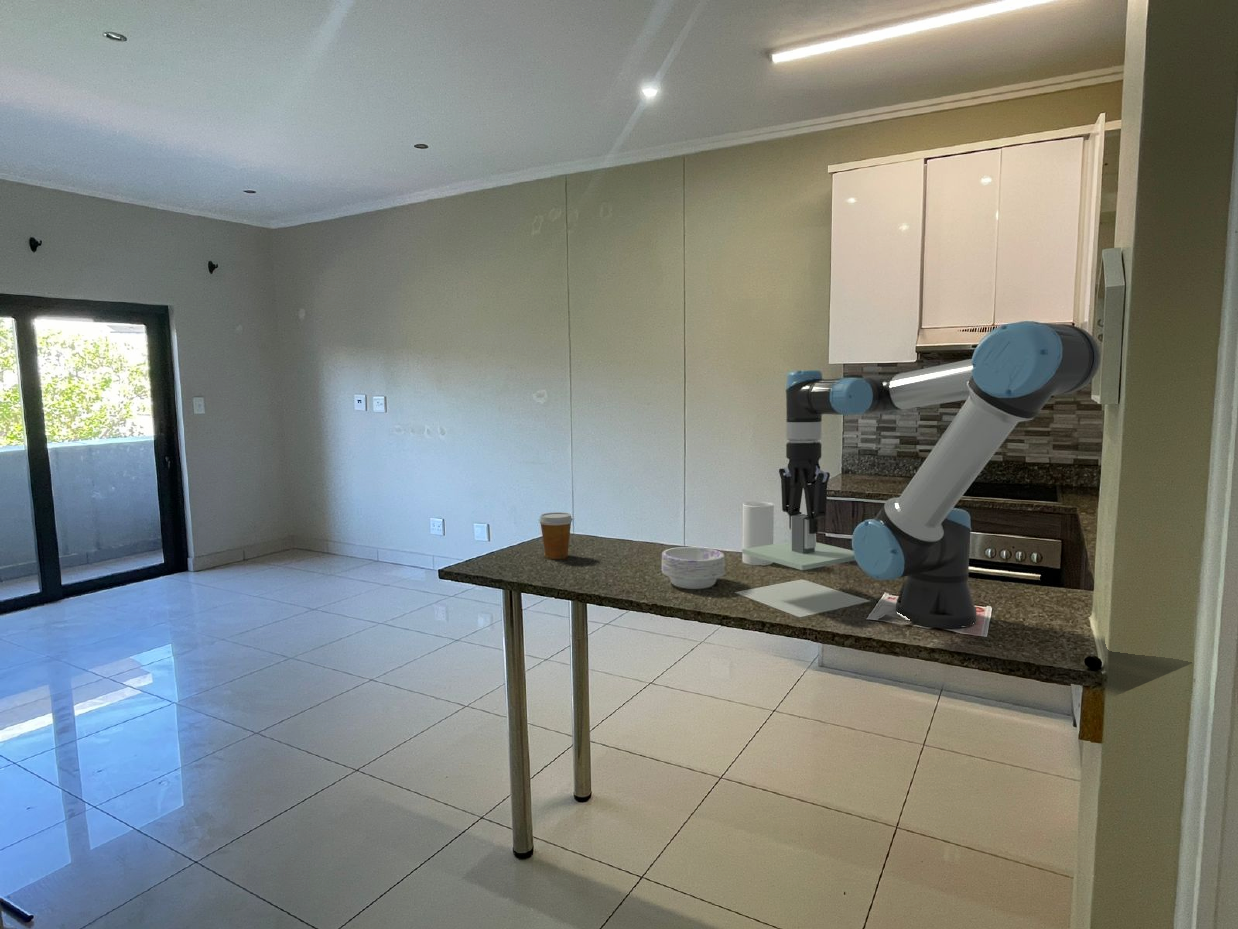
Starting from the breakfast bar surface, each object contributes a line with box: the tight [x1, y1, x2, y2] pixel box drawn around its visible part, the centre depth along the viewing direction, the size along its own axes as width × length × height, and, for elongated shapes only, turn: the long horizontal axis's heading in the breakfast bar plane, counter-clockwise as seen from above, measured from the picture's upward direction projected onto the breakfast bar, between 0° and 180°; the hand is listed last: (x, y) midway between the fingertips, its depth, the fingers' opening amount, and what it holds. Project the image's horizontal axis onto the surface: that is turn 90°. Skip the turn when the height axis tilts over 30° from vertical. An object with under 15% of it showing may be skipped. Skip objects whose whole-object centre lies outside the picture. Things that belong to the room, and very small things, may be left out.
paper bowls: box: [661, 546, 726, 590], centre depth 172 cm, size 15×15×8 cm
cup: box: [741, 501, 775, 566], centre depth 193 cm, size 8×8×16 cm
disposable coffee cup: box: [538, 512, 573, 560], centre depth 202 cm, size 10×10×12 cm
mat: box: [734, 579, 871, 618], centre depth 161 cm, size 21×21×1 cm
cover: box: [741, 513, 856, 571], centre depth 159 cm, size 19×19×9 cm
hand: (803, 546), depth 159 cm, fingers closed on cover, 3 cm apart
